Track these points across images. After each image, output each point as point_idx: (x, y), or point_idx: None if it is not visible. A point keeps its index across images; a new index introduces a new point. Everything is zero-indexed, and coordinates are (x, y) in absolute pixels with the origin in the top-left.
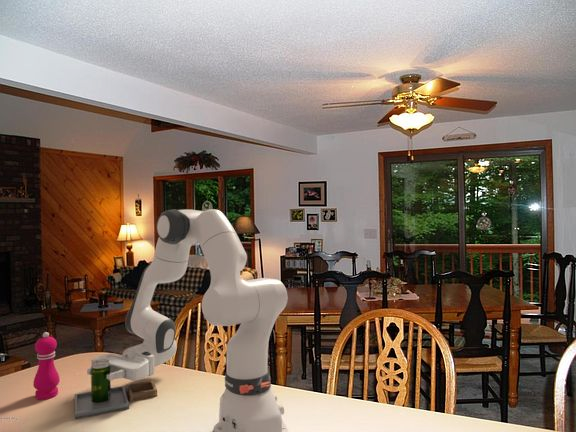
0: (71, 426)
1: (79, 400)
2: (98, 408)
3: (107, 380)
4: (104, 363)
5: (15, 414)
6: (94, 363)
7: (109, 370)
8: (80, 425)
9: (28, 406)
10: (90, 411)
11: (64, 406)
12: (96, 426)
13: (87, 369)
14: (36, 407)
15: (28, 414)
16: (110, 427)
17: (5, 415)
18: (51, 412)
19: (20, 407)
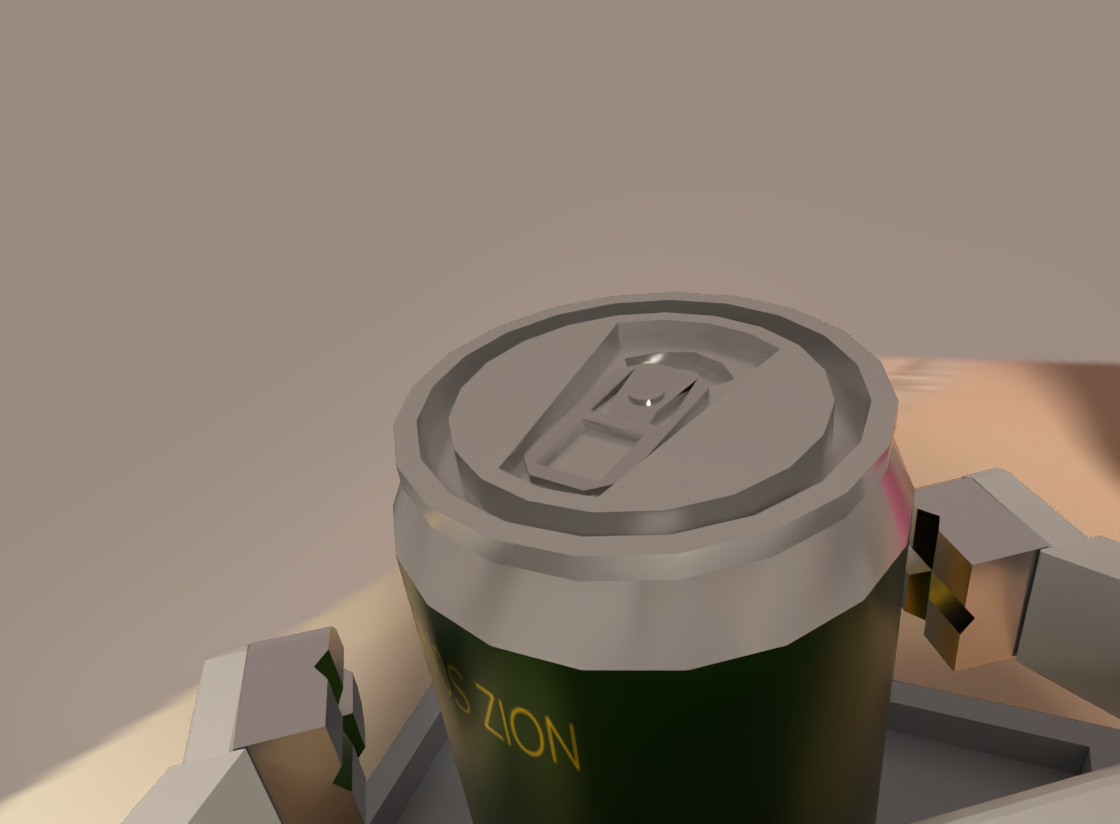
0: (396, 584)
1: (937, 766)
2: (384, 794)
3: (468, 801)
4: (456, 439)
5: (953, 394)
6: (636, 317)
7: (458, 717)
8: (340, 632)
9: (1094, 453)
10: (417, 714)
11: (907, 639)
12: (174, 718)
13: (984, 471)
14: (1031, 485)
15: (895, 438)
16: (3, 804)
17: (972, 362)
18: None
19: (1099, 419)
